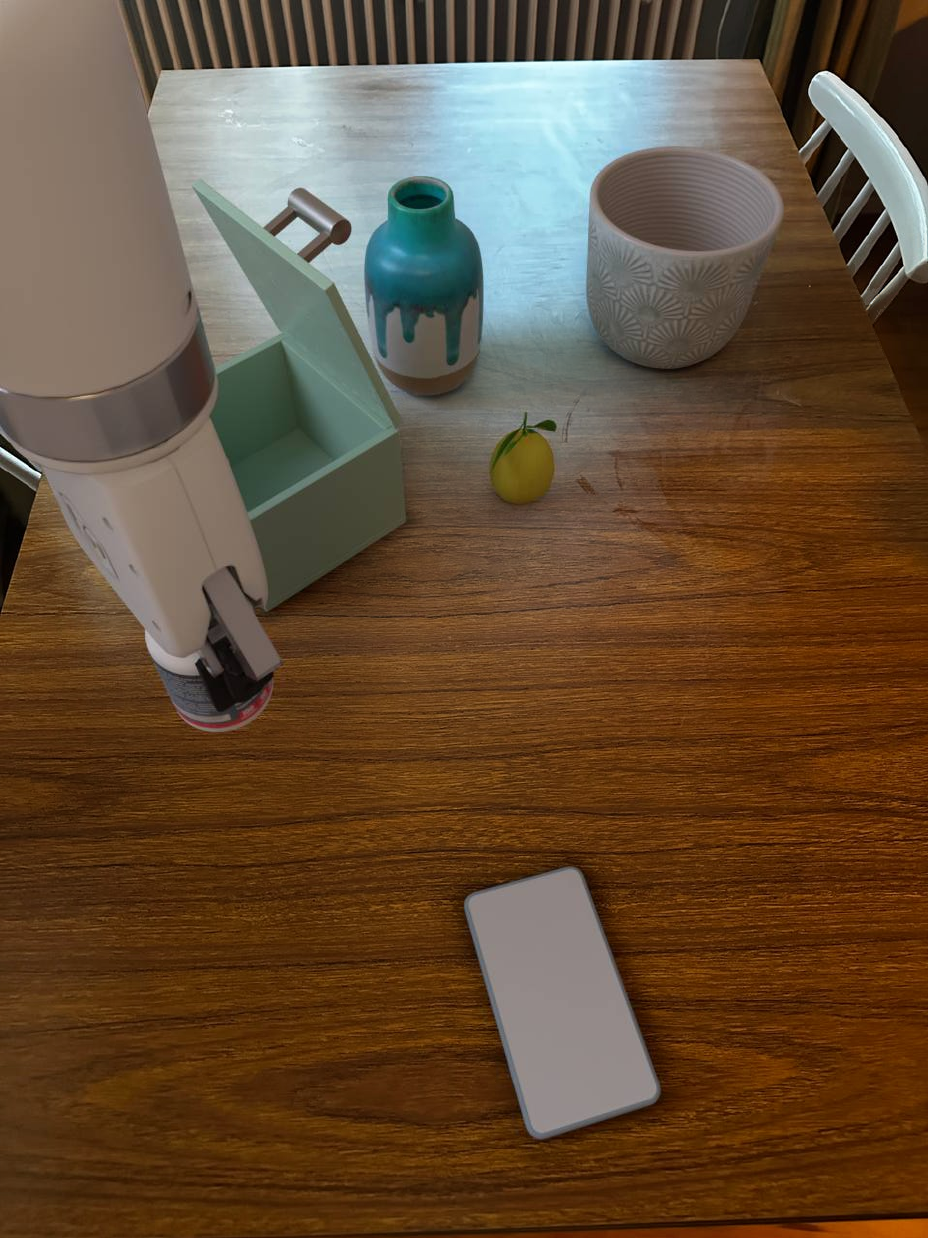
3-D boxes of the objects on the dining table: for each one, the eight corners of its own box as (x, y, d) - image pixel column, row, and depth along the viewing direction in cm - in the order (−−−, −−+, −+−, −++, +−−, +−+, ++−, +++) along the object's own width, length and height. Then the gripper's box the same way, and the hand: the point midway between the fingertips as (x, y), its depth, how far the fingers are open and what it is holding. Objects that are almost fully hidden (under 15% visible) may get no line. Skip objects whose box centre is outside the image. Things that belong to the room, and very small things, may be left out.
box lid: (324, 290, 59) (390, 232, 60) (190, 184, 66) (250, 133, 67) (395, 429, 73) (448, 381, 74) (278, 330, 80) (327, 287, 80)
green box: (266, 612, 77) (241, 525, 68) (165, 503, 84) (130, 411, 75) (406, 521, 82) (399, 430, 74) (301, 425, 89) (283, 331, 80)
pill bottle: (256, 743, 49) (221, 648, 41) (159, 725, 49) (108, 629, 42) (287, 657, 52) (259, 555, 44) (195, 641, 52) (153, 538, 45)
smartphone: (579, 862, 64) (666, 1099, 56) (578, 867, 65) (663, 1102, 56) (460, 895, 63) (530, 1143, 54) (460, 900, 64) (529, 1145, 55)
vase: (382, 421, 89) (365, 238, 74) (366, 348, 95) (346, 164, 79) (492, 405, 91) (498, 222, 75) (469, 334, 96) (470, 150, 81)
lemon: (487, 529, 82) (490, 445, 74) (476, 479, 85) (477, 394, 77) (563, 519, 83) (574, 435, 74) (549, 470, 86) (558, 385, 78)
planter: (549, 303, 99) (561, 162, 87) (696, 272, 102) (729, 131, 90) (613, 410, 90) (637, 271, 78) (773, 373, 93) (821, 233, 81)
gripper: (-106, 288, 35) (62, 584, 50) (123, 573, 28) (240, 821, 42) (81, 213, 38) (187, 514, 53) (334, 453, 30) (374, 725, 45)
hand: (210, 649), depth 47 cm, fingers closed on pill bottle, 5 cm apart
